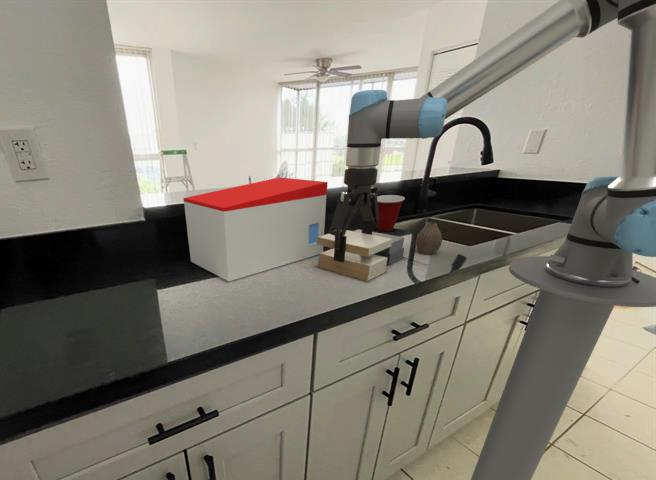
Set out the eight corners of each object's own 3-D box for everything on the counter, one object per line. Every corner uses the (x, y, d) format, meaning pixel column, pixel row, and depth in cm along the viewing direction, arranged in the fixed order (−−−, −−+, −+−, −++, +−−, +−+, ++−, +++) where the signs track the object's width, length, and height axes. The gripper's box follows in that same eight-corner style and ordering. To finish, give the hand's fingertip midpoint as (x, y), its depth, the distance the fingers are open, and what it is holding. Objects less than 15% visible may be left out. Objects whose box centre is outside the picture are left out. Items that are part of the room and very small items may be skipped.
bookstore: (323, 252, 103) (328, 181, 94) (228, 281, 84) (222, 196, 76) (279, 239, 118) (279, 177, 109) (190, 261, 99) (182, 188, 91)
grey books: (403, 258, 97) (406, 237, 95) (388, 265, 92) (391, 244, 89) (357, 247, 108) (359, 229, 105) (341, 253, 102) (343, 234, 100)
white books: (385, 272, 87) (387, 257, 86) (367, 281, 82) (368, 266, 80) (337, 259, 98) (338, 246, 96) (318, 266, 92) (318, 253, 91)
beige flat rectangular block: (391, 246, 85) (392, 238, 85) (367, 256, 79) (368, 248, 78) (341, 236, 96) (342, 229, 95) (316, 244, 89) (317, 237, 88)
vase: (427, 257, 97) (433, 227, 94) (409, 250, 103) (414, 222, 99) (444, 253, 100) (451, 224, 96) (426, 247, 105) (431, 219, 102)
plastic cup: (363, 229, 128) (367, 197, 123) (380, 225, 134) (384, 194, 129) (388, 234, 120) (393, 200, 115) (405, 229, 126) (411, 197, 121)
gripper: (373, 163, 89) (364, 243, 98) (317, 170, 74) (312, 263, 84) (400, 164, 84) (388, 248, 93) (345, 171, 69) (337, 270, 79)
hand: (352, 255), depth 88 cm, fingers closed on beige flat rectangular block, 11 cm apart
